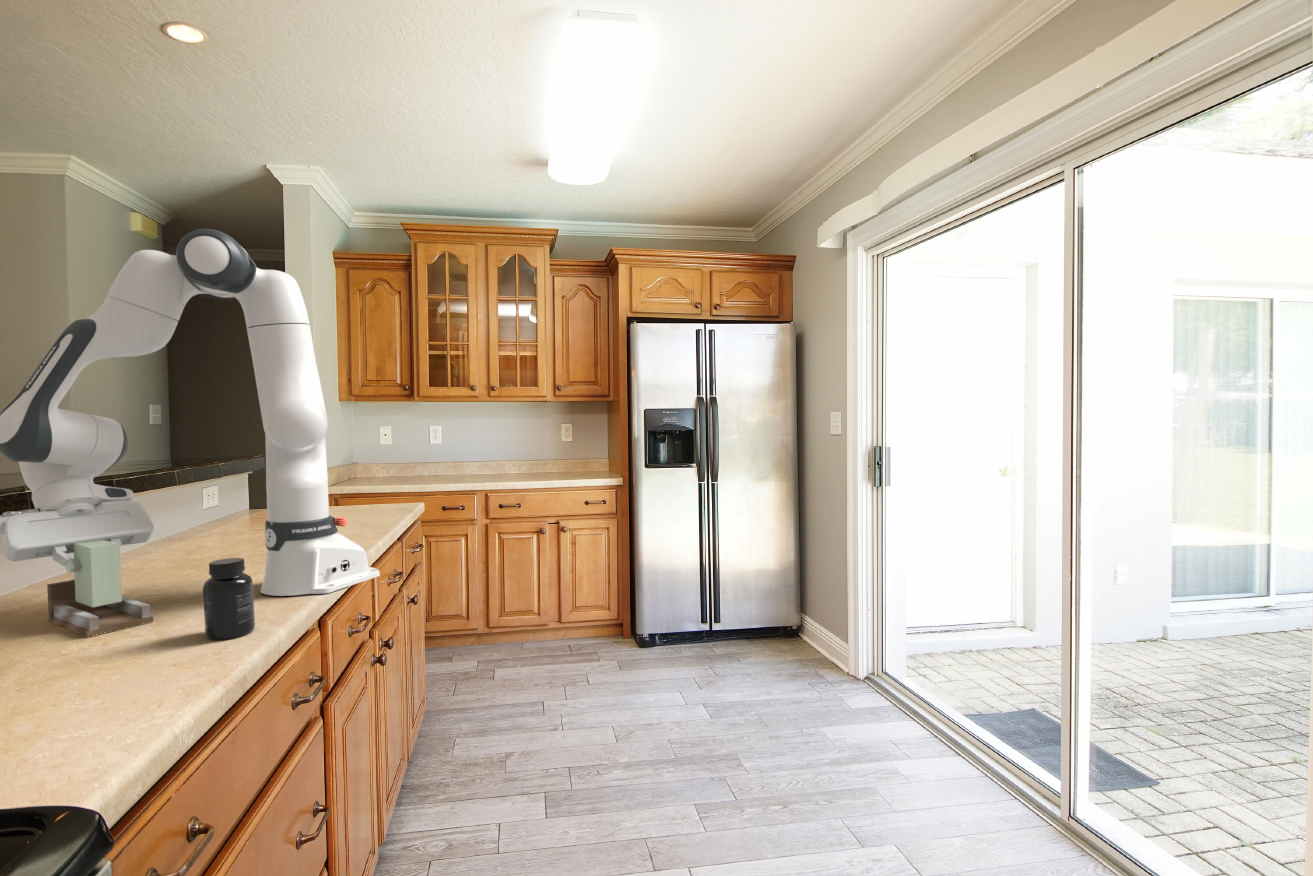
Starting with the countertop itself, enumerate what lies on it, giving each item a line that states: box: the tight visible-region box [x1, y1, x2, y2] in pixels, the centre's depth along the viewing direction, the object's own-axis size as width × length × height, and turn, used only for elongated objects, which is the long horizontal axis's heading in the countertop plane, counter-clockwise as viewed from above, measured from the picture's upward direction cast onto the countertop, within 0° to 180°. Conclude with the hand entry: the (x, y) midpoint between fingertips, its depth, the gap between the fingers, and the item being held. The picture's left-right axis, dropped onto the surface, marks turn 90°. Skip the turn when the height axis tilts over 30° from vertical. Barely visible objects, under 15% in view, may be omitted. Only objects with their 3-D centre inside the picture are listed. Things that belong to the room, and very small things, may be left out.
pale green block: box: [73, 540, 123, 607], centre depth 113 cm, size 7×4×10 cm, turn 59°
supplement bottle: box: [202, 557, 256, 641], centre depth 107 cm, size 7×7×12 cm
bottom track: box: [46, 579, 154, 638], centre depth 113 cm, size 16×9×6 cm, turn 59°
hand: (95, 566), depth 113 cm, fingers closed on pale green block, 4 cm apart
